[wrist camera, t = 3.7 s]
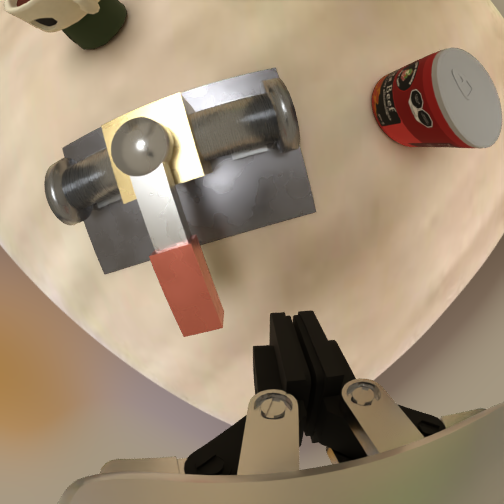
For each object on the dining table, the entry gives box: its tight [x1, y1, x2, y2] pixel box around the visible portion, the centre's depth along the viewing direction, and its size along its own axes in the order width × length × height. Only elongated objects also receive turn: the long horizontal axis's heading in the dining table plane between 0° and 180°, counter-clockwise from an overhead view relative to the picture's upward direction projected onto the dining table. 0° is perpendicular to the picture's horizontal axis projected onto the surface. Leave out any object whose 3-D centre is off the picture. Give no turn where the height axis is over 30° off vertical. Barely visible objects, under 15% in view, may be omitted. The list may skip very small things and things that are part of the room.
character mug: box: [4, 0, 127, 49], centre depth 12 cm, size 11×7×13 cm, turn 48°
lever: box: [111, 117, 224, 337], centre depth 17 cm, size 14×4×2 cm, turn 16°
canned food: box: [372, 48, 502, 148], centre depth 18 cm, size 8×8×11 cm
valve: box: [45, 68, 316, 274], centre depth 21 cm, size 22×14×7 cm, turn 106°
